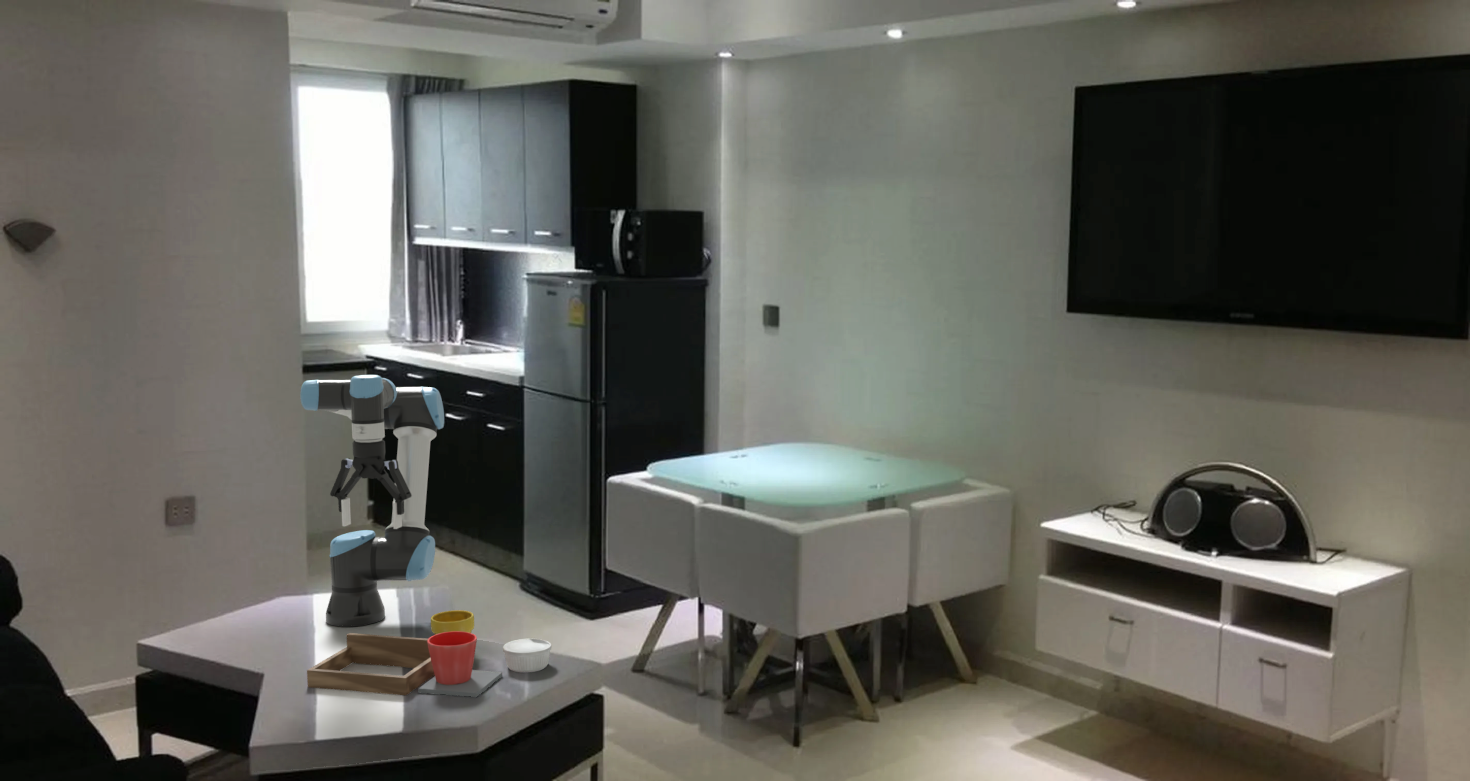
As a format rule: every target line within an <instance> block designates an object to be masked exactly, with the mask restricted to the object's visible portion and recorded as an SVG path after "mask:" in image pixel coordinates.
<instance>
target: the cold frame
mask: <svg viewBox="0 0 1470 781" xmlns="http://www.w3.org/2000/svg"><path fill="white" fill-rule="evenodd" d="M428 639H429V638H427V637H426V638H424V637H411V636H408V637H407V636H396V635H382V634H367V633H356V632H354V633H353V632H349V633H347V634H346V647H344V648H342V649H341V650H339V651H337V652H335V653H333V654H332V655H331V656H329V657H327V658H325V659H324V660H322V661H320V662H318V663H317V664H315V665H313V666H312V667H309V668H308V669H306V678H307V679H306V680H307V688H310V689H311V688H312V689H322V690H323V689H324V690H325V689H326V690H336V691H347V692H361V693H372V694H382V695H383V694H385V695H395V696H396V695H397V696H408V695H409V694H411V693H412V692H413V691H415V690H416V689H418V688H420V687H421V686H422V685H424V684H425V683H426V682H428V681H429V680H431V679H432V678H433V677H435V674H434V670H433V666H432V662H431V658H430V653H429V648H428V643H427V640H428ZM352 664H356V665H357V664H358V665H370V666H372V665H373V666H383V667H394V668H395V667H398V668H408V669H412V670H410V671H408V672H407V673H405V674H404V675H395V674H384V673H383V674H382V673H371V672H357V671H346V670H345V668H347V667H349V666H350V665H352ZM425 681H426V682H425ZM421 684H422V685H421ZM410 692H411V693H410Z"/></svg>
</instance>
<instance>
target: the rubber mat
mask: <svg viewBox="0 0 1470 781" xmlns="http://www.w3.org/2000/svg"><path fill="white" fill-rule="evenodd" d="M499 678H500V679H502V678H503V672H502V671H490V670H489V671H487V670H475V669H472V673H471V678H470V680H469V681H467V682H465V683H461V684H459V683H458V684H456V685H443V684H440V683H438V682H437V681H436V678H435V676H433V677H431V678H430V679H429V680H427V681H426V682H424V683H423V684H422V685H420V686H419V687H417V691H418V692H419V694H427V693H434V694H433V695H440V694H446V695H445V696H452V695H457V696H456V697H464V696H471V697H470V698H476V697H477V696H478V695H479V694H480V695H481V693H482V692H483V693H484V692H485V691H487V690H488V689H489V688H491V686H492V684H493V683H494V682H495V681H496V682H497V681H499V680H500V679H499ZM498 679H499V680H498ZM496 682H495V683H496ZM495 683H494V684H495ZM494 684H493V685H494ZM490 685H491V686H490ZM488 687H489V688H488ZM487 688H488V689H487ZM418 692H417V693H418ZM420 692H421V693H420ZM483 693H482V694H483ZM458 695H460V696H458ZM480 695H479V696H480ZM479 696H478V697H479ZM478 697H477V698H478Z"/></svg>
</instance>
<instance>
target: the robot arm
mask: <svg viewBox="0 0 1470 781" xmlns="http://www.w3.org/2000/svg"><path fill="white" fill-rule="evenodd" d="M299 397H300V403H301V406H302V407H303V409H304V410H305V411H315V412H318V411H326V412H330V413H334V414H337V415H341V416H345V417H347V418H348V419H349V420H351V434H352V435H351V436H352V437H351V438H352V440H354V441H353V442H352V455H353V459H351V458H350V457H347V458H343V459H342V460H340V470H339V472H338V474H337V477H336V479H335V481H334V484H333V486H332V487H331V491H330V494H329V495H330V496H331V497H334V498H337V501H338V504H337V505H338V511H339V513H341V526H342V527H347V526H349V525H352V520H351V519H352V518H351V517H352V516H351V497H348V495H349V494H350V492H351V491H352V490H353V489H354V488H355V487H356V485H357V483H358V482H359V481H360V479H371V480H372V479H373V480H375V479H376V480H377V481H379V482H381V484H382V485H383V487H384V488H385V489H386V490H387V491H388V493H389V494H390V495H391V497H392V498H393V501H392V514H391V523H390V524H389V525H388V526H387V527H386V528H385V529H384V536H377V534H376V532H375V531H374V530H372V529H371V530H369V529H363V530H357V531H356V530H355V531H350V532H347V533H343V534H340V535H338V536H336V537H334V538H333V539H332V540H331V541H330V545H329V547H330V548H329V549H330V551H329V561H330V562H329V563H330V580H331V584H330V585H331V594H330V598H329V600H328V604H327V608H326V612H325V621H326V623H327V624H328V625H330V626H334V627H346V628H347V627H359V626H360V627H361V626H367V625H370V624H375V623H378V622H380V621H382V620H383V619H385V617H386V611H385V610H386V609H385V605H384V603H383V601H382V598H381V595H380V592H379V590H378V582H379V581H383V582H384V581H387V582H388V581H389V582H390V581H391V582H393V581H398V582H399V581H407V582H411V581H420V580H425V579H426V578H427V577H428V576H429V575H430V573H431V570H432V569H433V568H432V567H433V565H434V561H435V555H436V540H435V538H434V536H432V535H430V530H429V528H427V527H426V525H425V520H426V519H425V518H426V505H427V495H428V494H427V491H428V478H429V467H430V466H429V464H430V451H431V441H432V440H434V439H435V438H436V437H437V431H438V430H441V429H443V428H444V426H445V410H444V404H443V401H442V396H441V393H440V391H439V389H437V388H435V387H430V386H429V387H428V386H396V385H395V384H394V383H393V381H392V380H390V379H388V378H385V377H382V376H381V375H378V374H360V375H354V376H352V377H351V378H350V379H312V380H310V379H309V380H305V381H304V382H303V383H302V385H301V388H300V396H299ZM388 429H389V430H393V431H392V432H393V433H392V434H393V435H394V436H395V437H396V438H397V439H398V440H397V452H396V453H397V454H396V459H392V460H387V459H386V441H385V439H384V438H385V437H386V435H385V434H386V433H385V430H388ZM352 467H353V468H354V469H355V470H354V472H353V473H352V474H351V478H349V479H348V481H347V482H346V480H347V477H348V476H349V475H348V474H349V472H350V471H351V468H352ZM386 468H387V470H389V473H388V472H387V471H386ZM389 474H390V475H389ZM390 476H391V478H392V479H391V478H390ZM345 483H346V484H345Z"/></svg>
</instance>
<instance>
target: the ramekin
mask: <svg viewBox="0 0 1470 781" xmlns="http://www.w3.org/2000/svg"><path fill="white" fill-rule="evenodd" d="M551 650H552V643H551V642H550V641H548V640H545V639H541V638H535V637H534V638H532V637H531V638H528V637H527V638H519V639H515V640H511V641H508V642H506V643H505V644H504V645H503V646H502V651H503V653H504V658H505V661H506V662H505V663H506V666H507V668H508V669H509V670H510V671H513V672H515V673H535V672H540V671H541V670H544V669H545V668H547V666H548V664H549V660H550V655H551Z"/></svg>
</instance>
